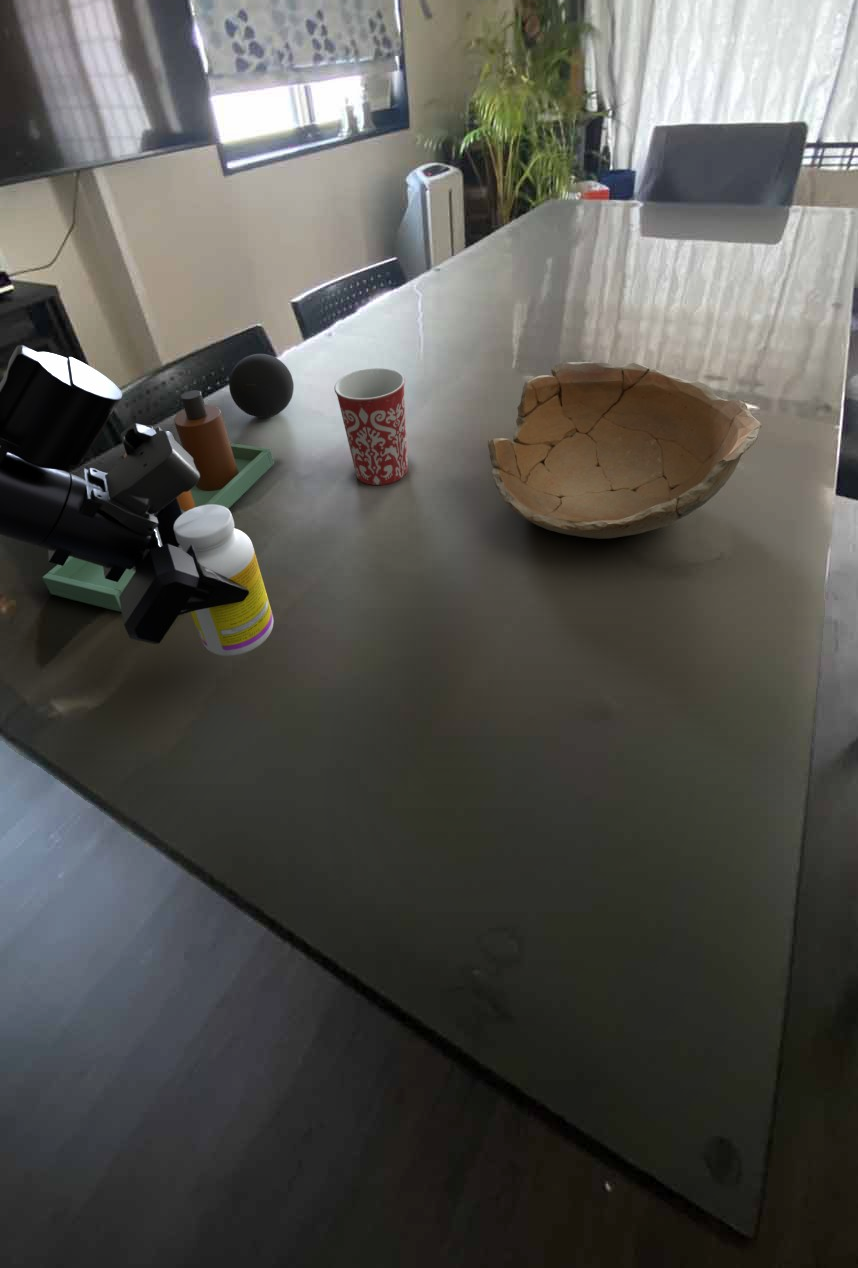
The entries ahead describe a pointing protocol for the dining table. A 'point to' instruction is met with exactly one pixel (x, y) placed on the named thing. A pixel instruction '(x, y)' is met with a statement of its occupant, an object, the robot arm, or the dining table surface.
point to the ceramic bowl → (617, 449)
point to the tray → (94, 589)
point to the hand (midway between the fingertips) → (236, 572)
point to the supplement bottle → (236, 560)
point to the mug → (375, 423)
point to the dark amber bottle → (206, 441)
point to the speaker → (261, 385)
